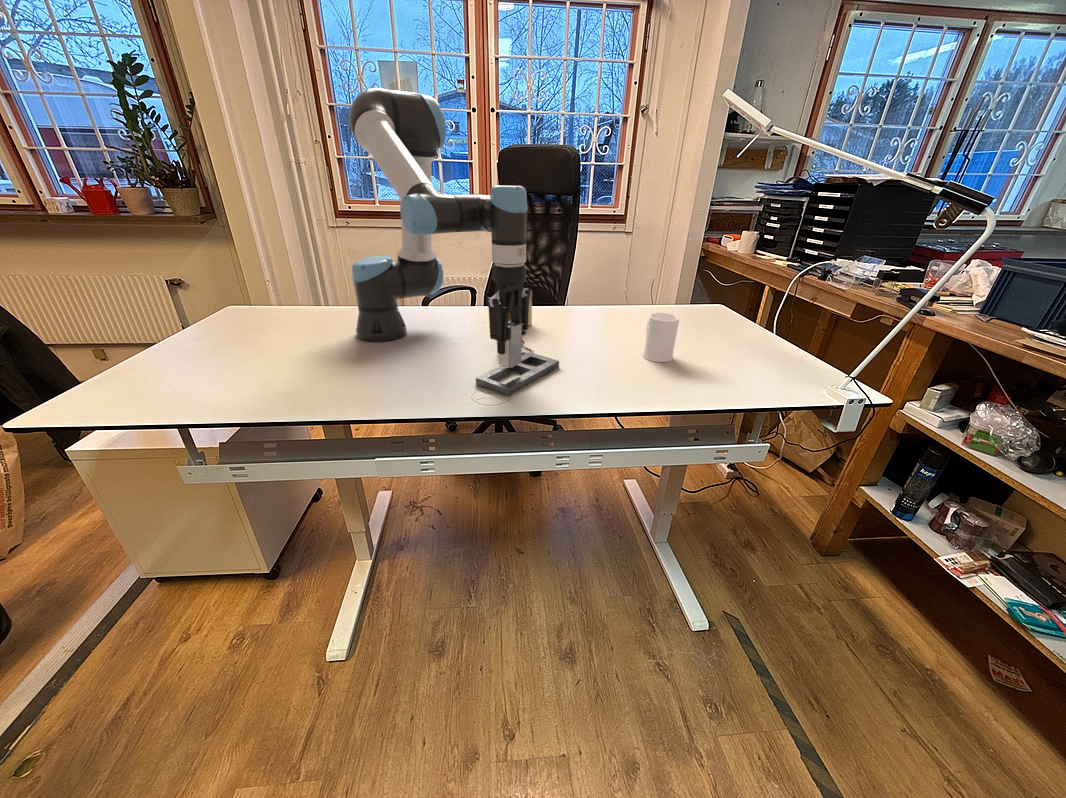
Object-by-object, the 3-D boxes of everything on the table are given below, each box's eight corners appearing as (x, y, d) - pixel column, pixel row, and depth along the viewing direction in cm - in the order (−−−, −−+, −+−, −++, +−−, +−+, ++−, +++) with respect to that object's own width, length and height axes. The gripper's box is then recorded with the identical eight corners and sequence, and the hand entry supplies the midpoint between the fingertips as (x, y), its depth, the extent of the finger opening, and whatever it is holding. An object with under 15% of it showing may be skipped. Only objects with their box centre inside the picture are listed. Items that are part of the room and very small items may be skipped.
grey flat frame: (476, 385, 103) (475, 377, 102) (529, 358, 119) (529, 352, 118) (507, 396, 98) (507, 389, 97) (558, 367, 114) (559, 360, 113)
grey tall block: (498, 363, 103) (497, 322, 98) (508, 359, 106) (508, 318, 101) (511, 367, 101) (511, 326, 96) (521, 362, 104) (521, 322, 99)
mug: (633, 348, 129) (638, 309, 123) (659, 347, 130) (665, 308, 125) (650, 363, 118) (657, 321, 113) (678, 361, 120) (686, 320, 114)
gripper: (497, 271, 85) (499, 377, 95) (545, 261, 97) (542, 356, 108) (469, 267, 88) (474, 369, 99) (519, 257, 101) (519, 349, 112)
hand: (509, 362), depth 103 cm, fingers closed on grey tall block, 4 cm apart
